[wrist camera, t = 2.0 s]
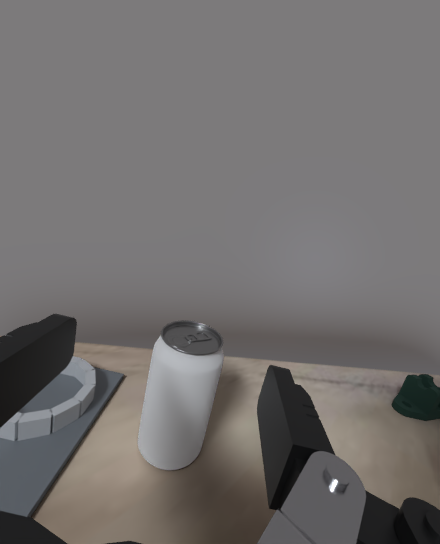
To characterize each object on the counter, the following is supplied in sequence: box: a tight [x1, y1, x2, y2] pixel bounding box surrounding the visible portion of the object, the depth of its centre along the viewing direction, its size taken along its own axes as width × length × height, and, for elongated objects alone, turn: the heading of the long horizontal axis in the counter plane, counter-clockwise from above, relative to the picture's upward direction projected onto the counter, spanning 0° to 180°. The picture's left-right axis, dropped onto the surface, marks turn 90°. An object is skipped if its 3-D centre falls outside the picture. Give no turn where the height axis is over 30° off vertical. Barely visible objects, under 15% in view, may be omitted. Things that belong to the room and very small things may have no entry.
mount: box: [392, 374, 440, 421], centre depth 39 cm, size 11×4×5 cm, turn 109°
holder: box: [0, 356, 124, 517], centre depth 23 cm, size 12×18×2 cm, turn 177°
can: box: [138, 321, 224, 470], centre depth 24 cm, size 6×6×12 cm
